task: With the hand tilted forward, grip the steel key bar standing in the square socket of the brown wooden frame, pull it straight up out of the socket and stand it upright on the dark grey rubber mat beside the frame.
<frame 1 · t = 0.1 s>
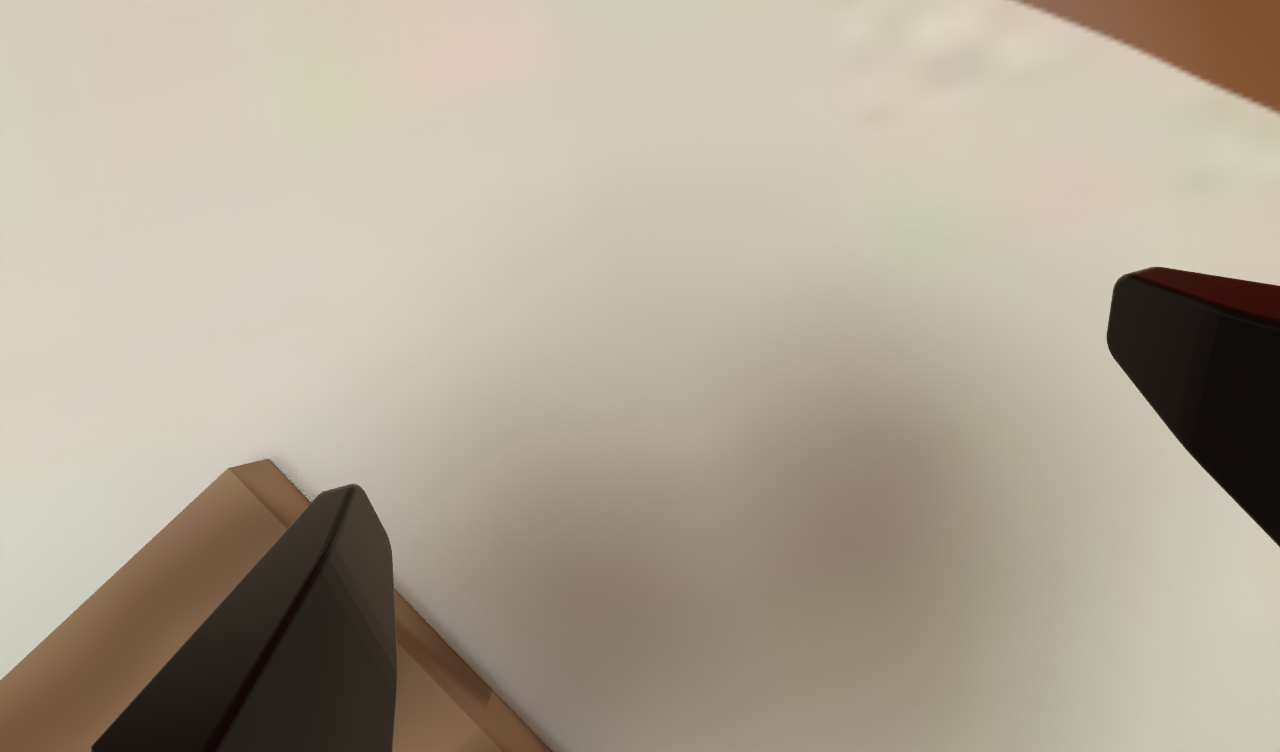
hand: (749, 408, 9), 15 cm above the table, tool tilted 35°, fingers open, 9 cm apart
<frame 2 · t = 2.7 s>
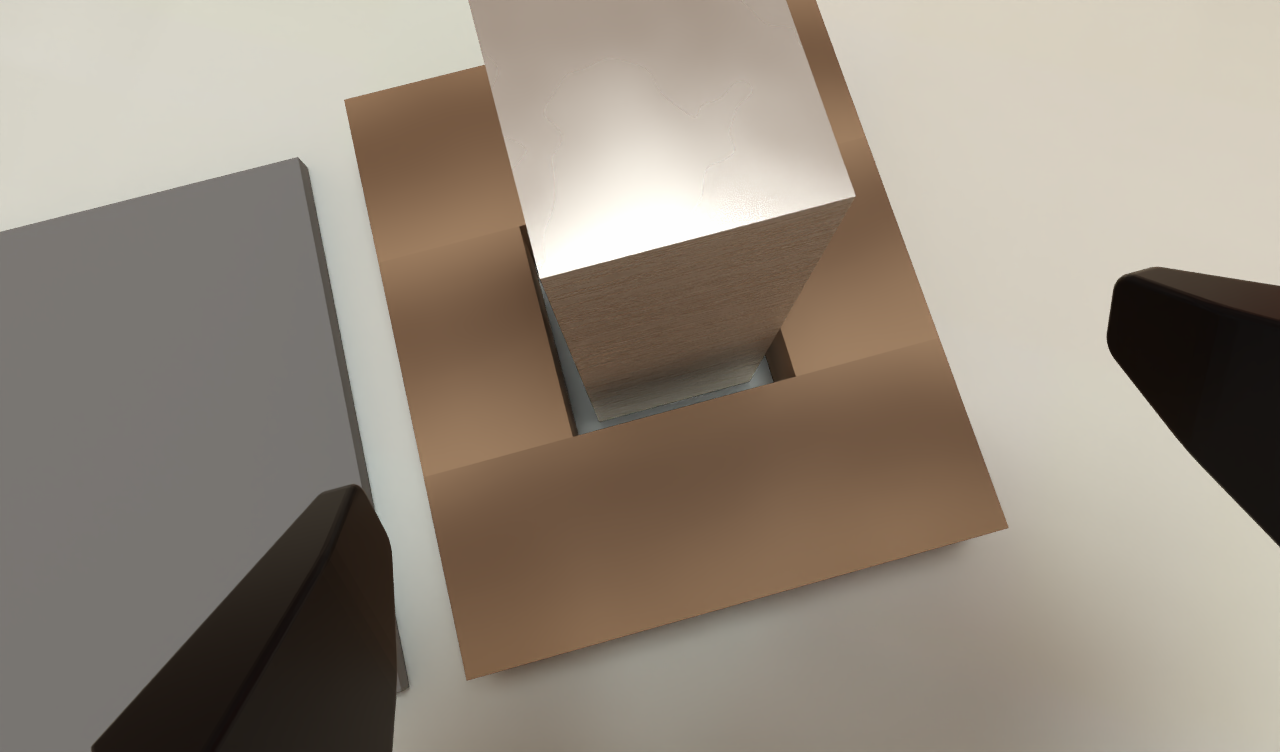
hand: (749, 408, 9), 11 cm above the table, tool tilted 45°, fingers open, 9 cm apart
brown wooden frame: (654, 329, 21), on the table
steel key bar: (654, 252, 15), in the brown wooden frame
grey mat: (162, 459, 20), on the table
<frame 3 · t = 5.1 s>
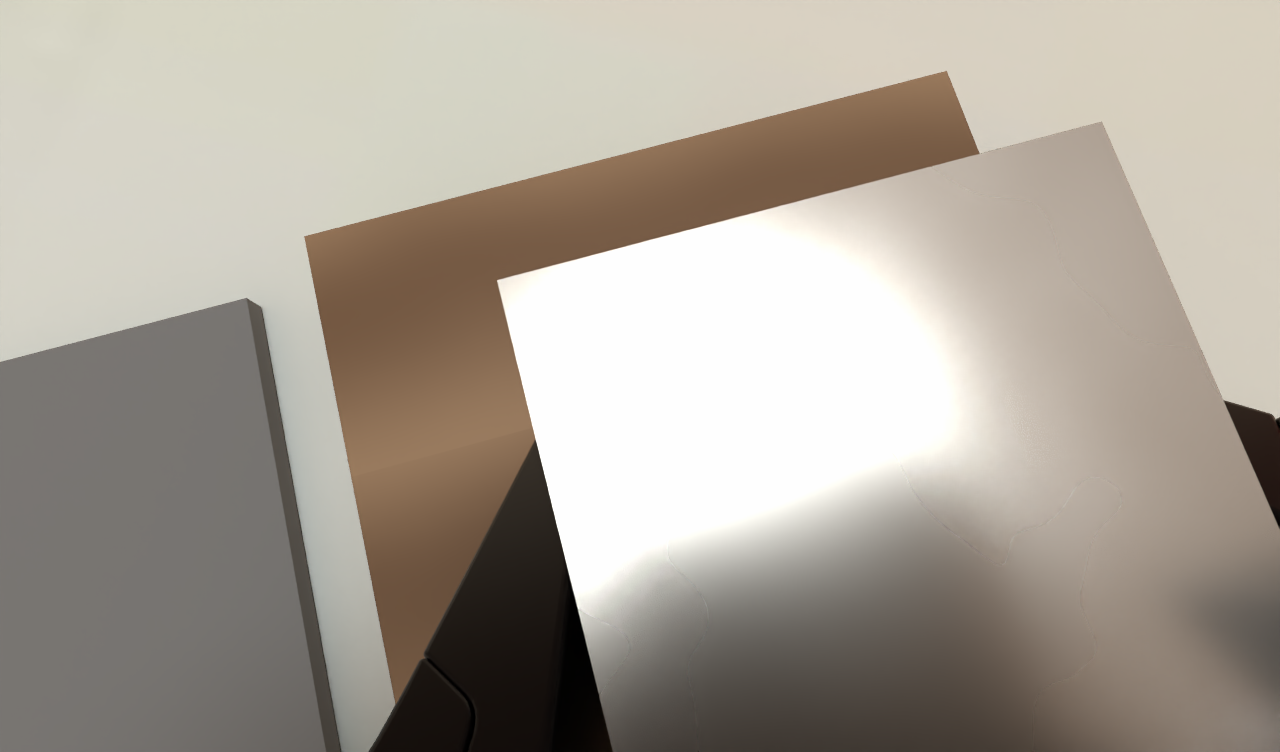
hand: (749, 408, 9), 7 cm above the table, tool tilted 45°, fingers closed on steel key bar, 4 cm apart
brown wooden frame: (729, 535, 15), on the table
steel key bar: (770, 529, 10), in the brown wooden frame, touching gripper
grey mat: (58, 723, 15), on the table
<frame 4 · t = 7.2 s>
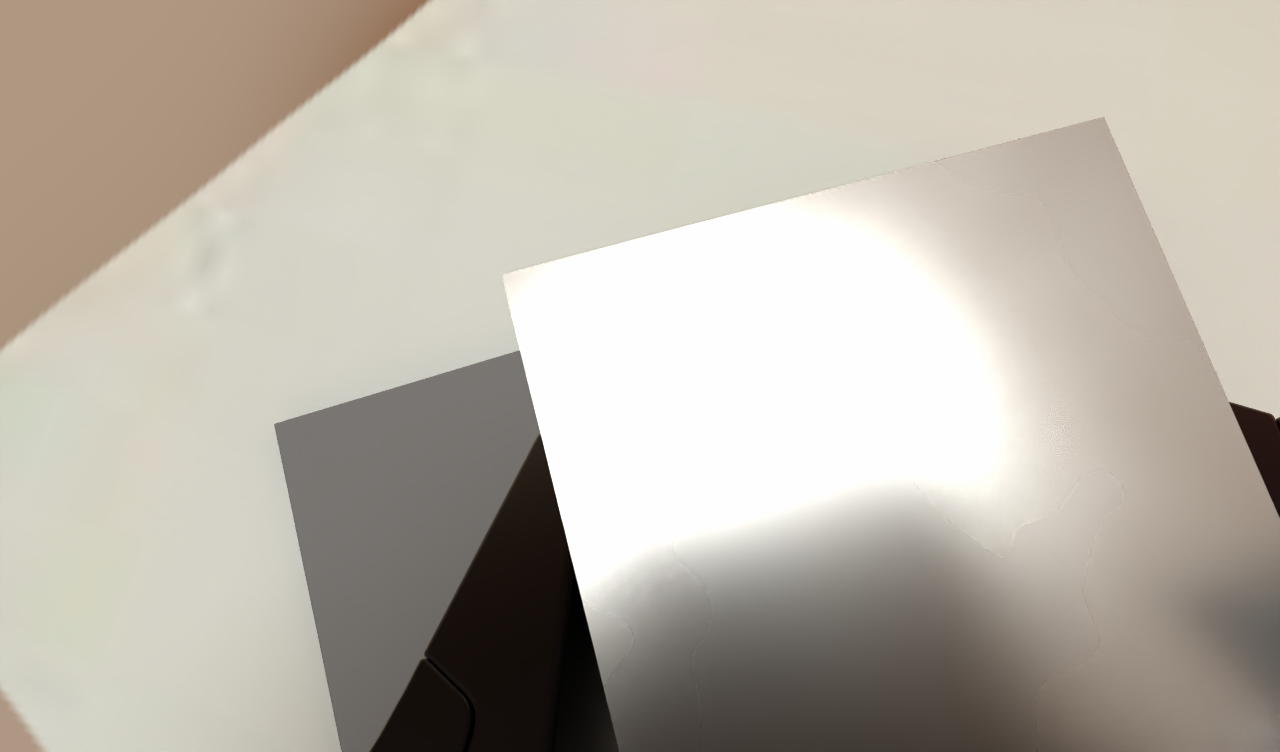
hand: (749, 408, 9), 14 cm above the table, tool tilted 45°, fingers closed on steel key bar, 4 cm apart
steel key bar: (772, 526, 10), point 13 cm above the table, touching gripper
grey mat: (509, 612, 22), on the table
when the fingers open (9 cm above the table, at t = 9.2 s): steel key bar drops 1 cm, resting on grey mat.
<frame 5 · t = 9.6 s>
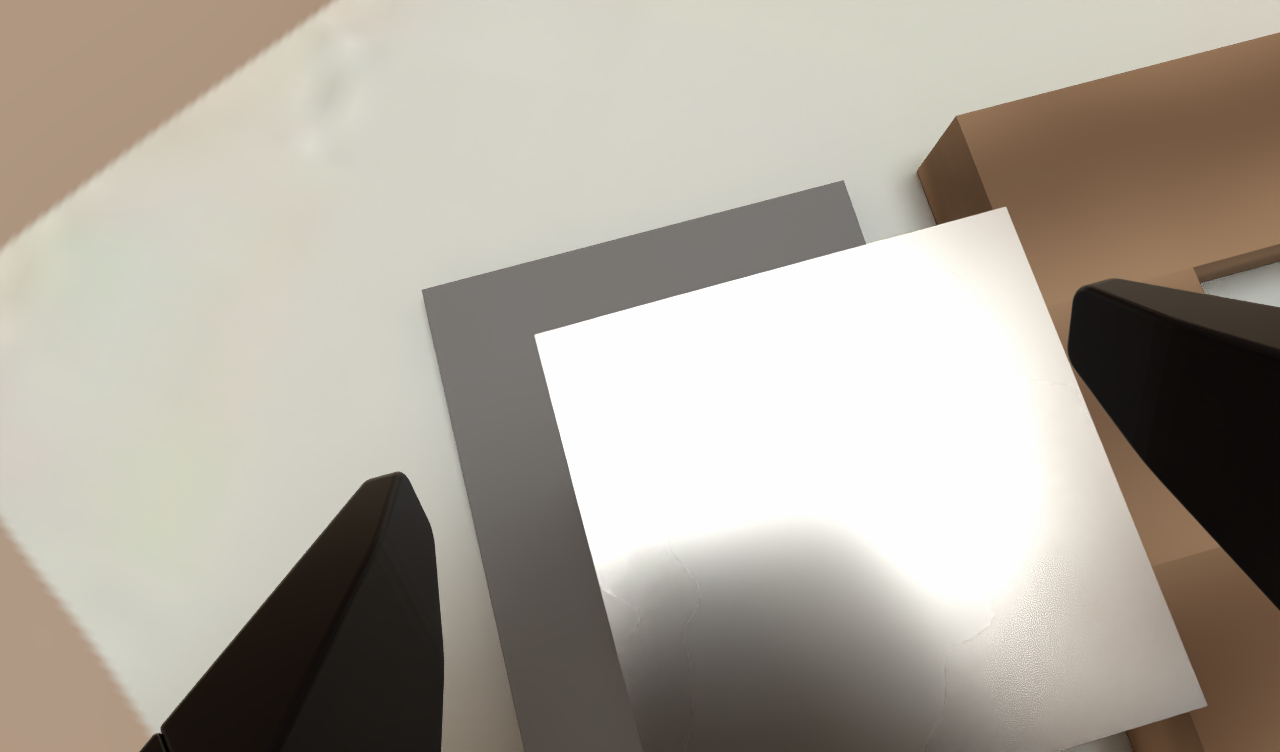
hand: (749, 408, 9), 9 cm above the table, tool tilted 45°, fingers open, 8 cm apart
brown wooden frame: (1273, 381, 18), on the table
steel key bar: (757, 527, 11), on the grey mat, point 6 cm above the table
grey mat: (719, 535, 17), on the table
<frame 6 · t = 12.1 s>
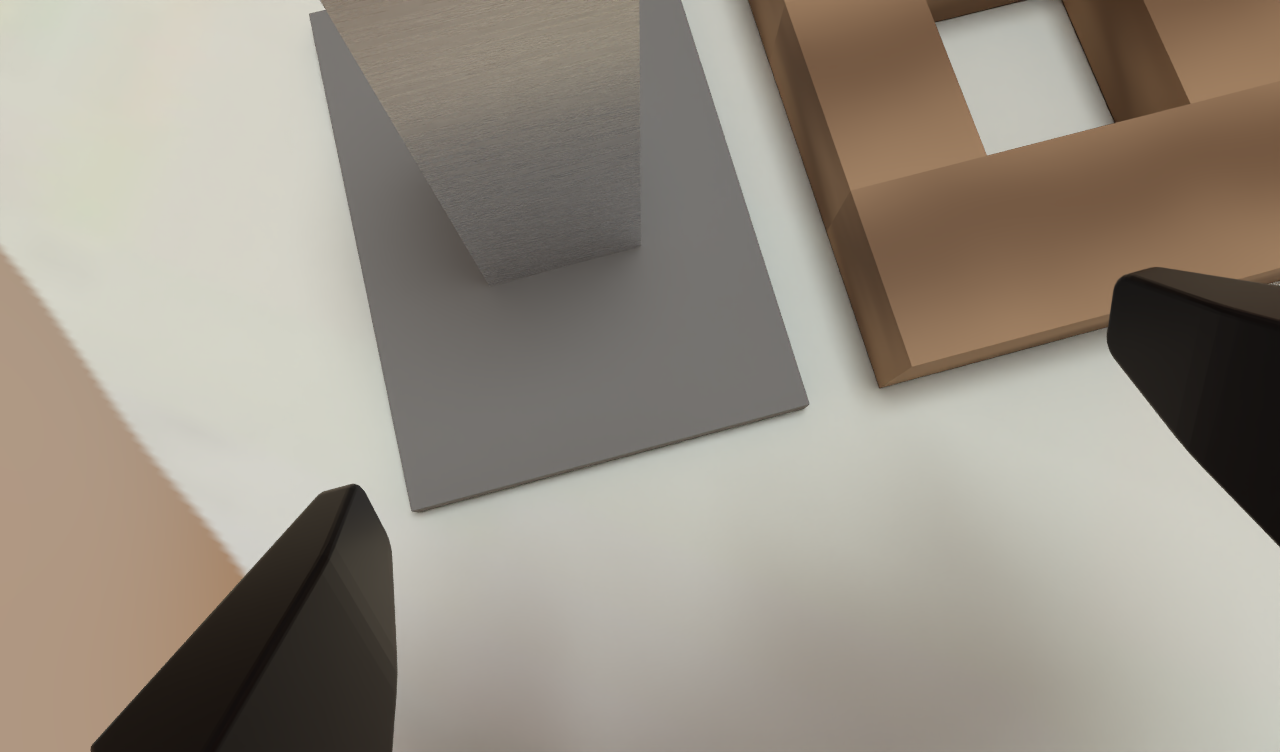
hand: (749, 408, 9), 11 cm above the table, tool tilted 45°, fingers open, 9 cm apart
brown wooden frame: (1004, 92, 22), on the table
steel key bar: (512, 74, 15), on the grey mat, point 6 cm above the table
grey mat: (547, 207, 21), on the table
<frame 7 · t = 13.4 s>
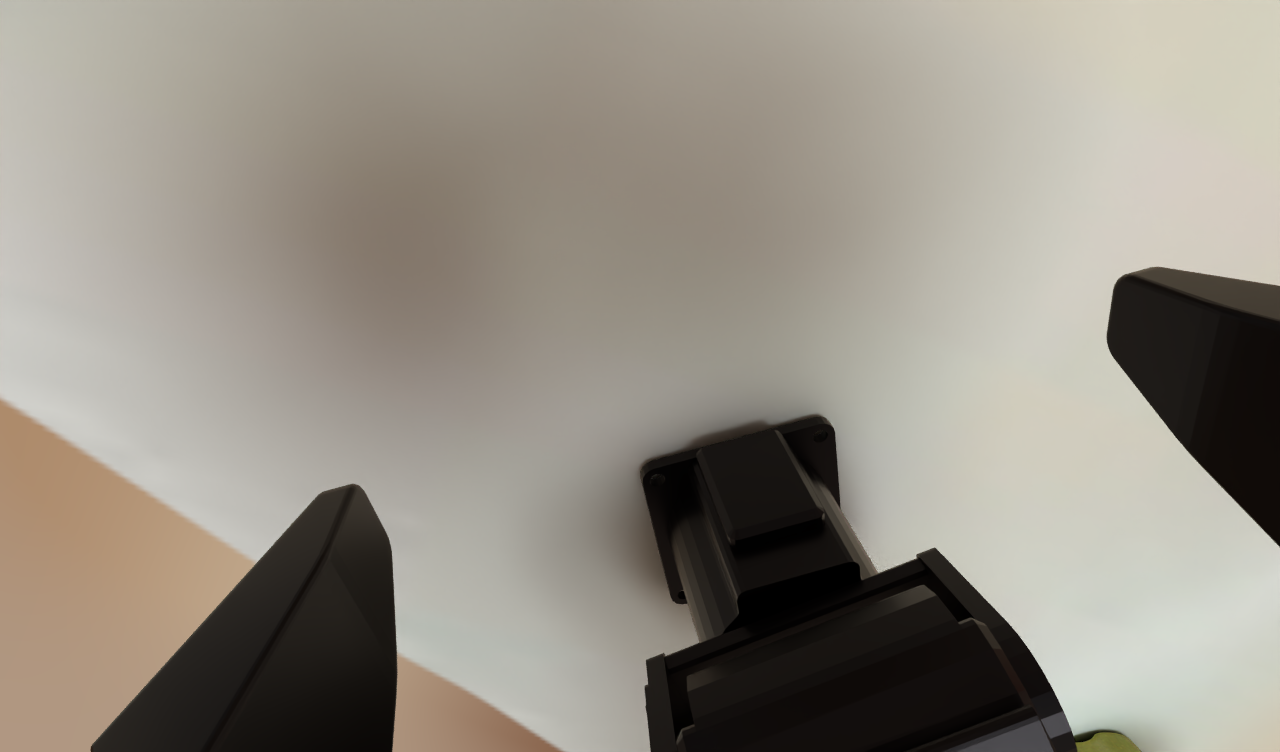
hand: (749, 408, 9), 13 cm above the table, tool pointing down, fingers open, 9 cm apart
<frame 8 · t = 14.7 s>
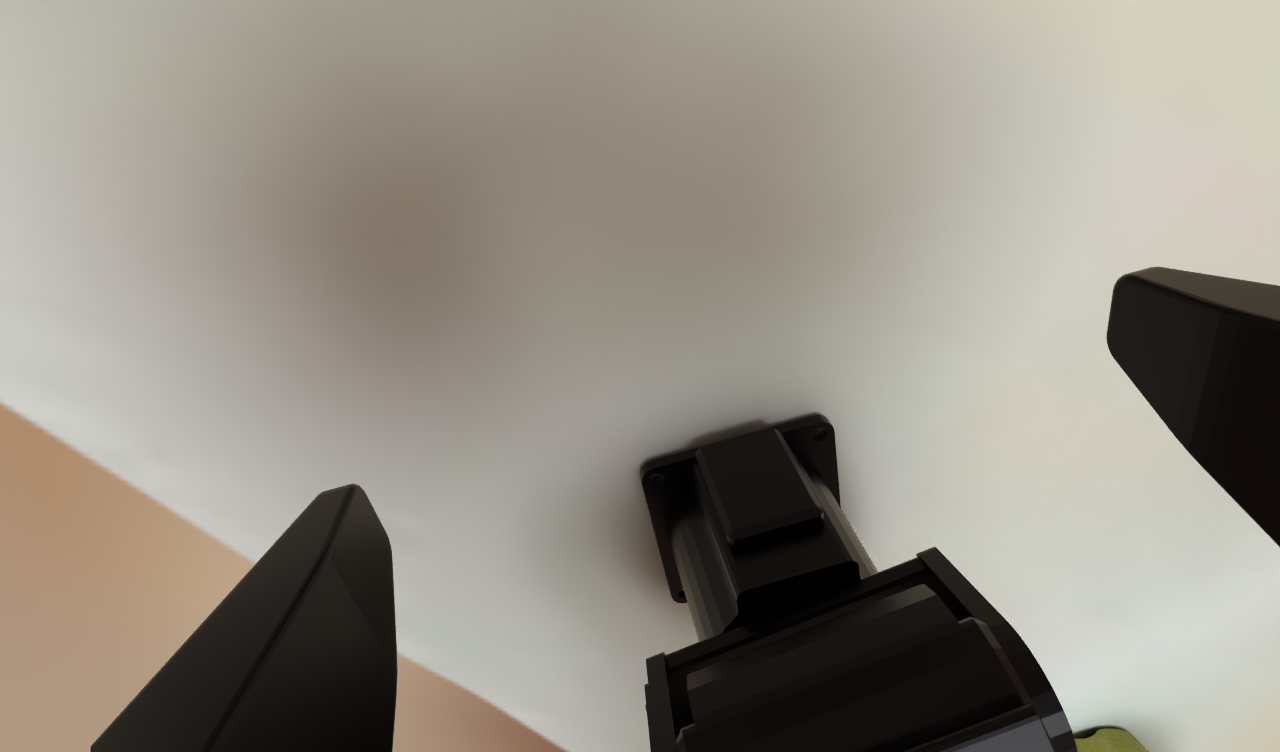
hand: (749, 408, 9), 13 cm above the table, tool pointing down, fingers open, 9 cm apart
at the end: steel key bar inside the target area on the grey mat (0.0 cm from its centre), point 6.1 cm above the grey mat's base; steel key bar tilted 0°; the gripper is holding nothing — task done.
